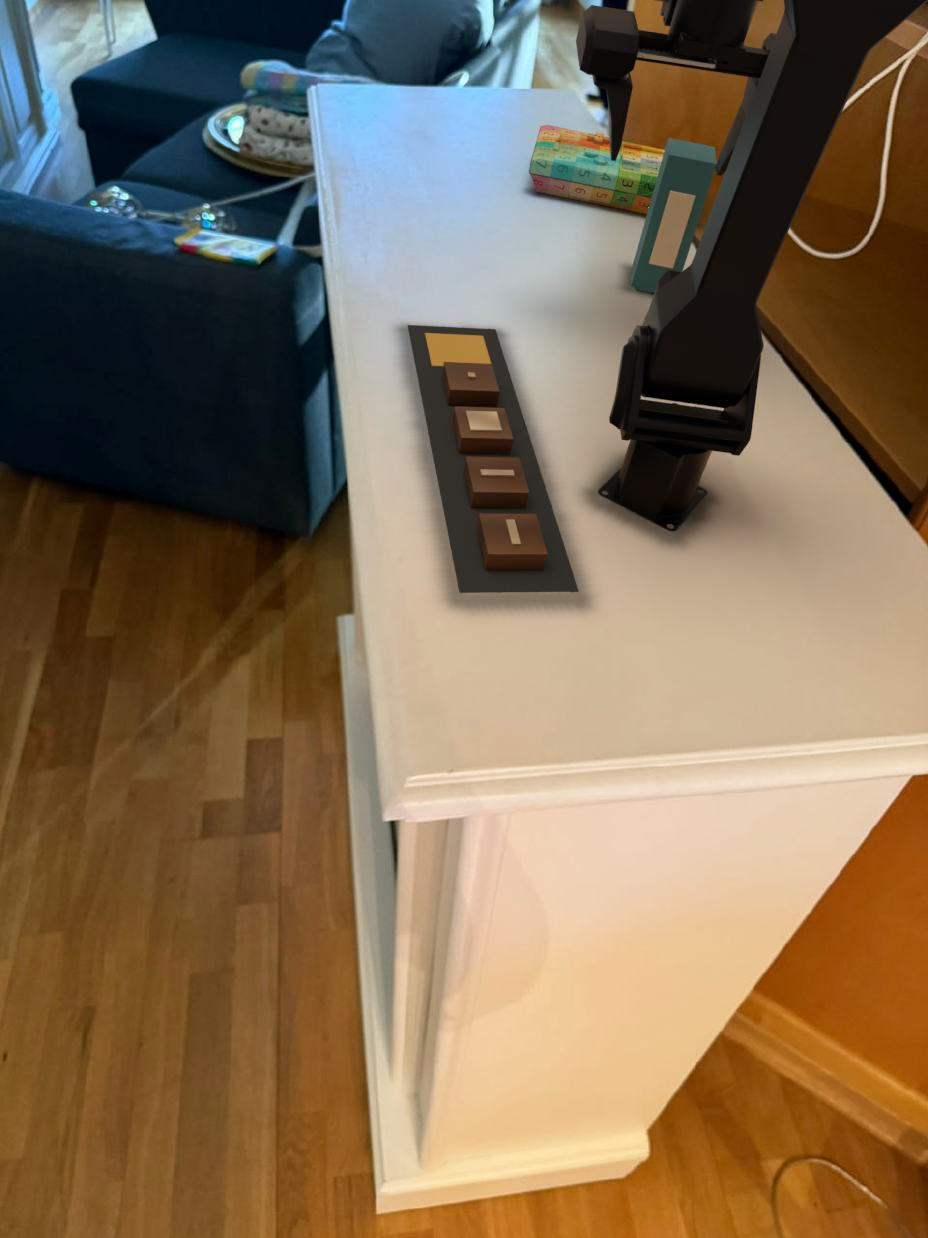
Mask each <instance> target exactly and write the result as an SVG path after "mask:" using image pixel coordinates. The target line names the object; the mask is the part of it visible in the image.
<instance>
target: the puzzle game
mask: <svg viewBox="0 0 928 1238" xmlns="http://www.w3.org/2000/svg"><path fill="white" fill-rule="evenodd" d="M664 151H665V149H662V148H658V147H652V146H649V145H644V144H639V143H634V142H630V141H626V140H625V141H624V140H622V144H621V148H620V151H619V153H618V156H617V159H616V161H612V160H611V156H610V136H605V135H604V133H603V132H598V131H597V132H595V133H594V134H593V133H589V132H583V131H580V130H575V129H569V128H564V127H560V126H557V125H551V124H550V125H549V124H545V125H541V126H539V130H538V133H537V138H536V141H535V145H534V148H533V151H532V155H531V159H530V163H529V169H528V173H529V176H530V177H531V179H532V181H533V185H534V188H535V192H536V193H539V194H546V195H551V196H556V197H561V198H566V199H571V200H575V201H579V202H585V203H591V204H595V205H600V206H605V207H610V208H615V209H621V210H626V211H628V212H629V211H630V212H636V213H640V214H645V215H647V212H648V209H649V208H648V207H649V205H650V201H651V198H652V194H653V191H654V187H655V184H656V180H657V176H658V173H659V169H660V166H661V162H662V159H663V155H664Z"/></svg>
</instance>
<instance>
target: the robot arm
mask: <svg viewBox="0 0 928 1238" xmlns="http://www.w3.org/2000/svg"><path fill="white" fill-rule="evenodd" d="M655 1H657V2H662V4H661V9H660V13H659V15H660V17H662V23H663V25H664V27H668V28H669V29H668V32H667V33H661V32H657V31H656V32H655V31H649V30H643V29H639V26H638V23H637V17H636V15H635V11H632V10H626V9H621V8H614V7H607V6H602V5H601V6H600V5H594V4H591V5H590V6H589V7H588V8H586V9H585V10H584V11H583V12H582V14H581V16H580V20H579V23H578V29H577V34H576V39H575V44H576V52H577V59H578V67H579V70H580V71H581V72H583V73H584V74H586V75H590V76H592V82H593V85H594V86H595V87H597V88H600V89H605V91H606V96H607V97H606V98H607V106H608V107H607V108H608V110H607V111H608V132H609V133H608V137H609V138H610V156H611V160H612V161H616V159H617V156H618V153H619V151H620V148H621V144H622V141H623V139H624V138H623V137H624V133H625V129H626V123H627V119H628V113H629V109H630V103H631V98H632V93H633V88H634V85H633V80H632V75H631V72H633V71H634V70H635V66H636V61H638V62H639V61H640V62H646V63H647V62H648V63H653V64H660V65H667V66H673V67H679V68H685V69H694V70H700V71H706V72H713V73H721V74H727V75H734V76H739V77H740V76H741V77H747V80H746V84H745V87H744V93H743V97H742V101H741V102H740V106H739V108H738V110H737V112H736V115H735V117H734V119H733V122H732V124H731V127H730V129H729V131H728V134H727V136H726V138H725V140H724V142H723V145H722V148H721V149H720V153H719V156H718V159H717V166H716V169H715V173H716V176H720V177H722V176H723V178H722V180H721V183H720V186H719V188H718V192H717V194H716V197H715V199H714V202H713V205H712V208H711V211H710V213H709V216H708V219H707V221H706V224H705V228H704V229H703V232H702V235H701V238H700V240H699V243H698V245H697V249H696V251H695V254H694V256H693V259H692V261H691V263H690V265H689V266H688V267H686V268H684V269H683V271H682V272H679V271H673V270H667V271H666V272H665V273H664V274H663V275H662V277H661V278H660V279H659V280H658V282H657V286H656V289H655V293H653V296H652V300H651V303H650V305H649V308H648V310H647V311H646V314H645V316H644V320H643V322H642V325H641V324H640V325H639V324H638V325H636V326H635V327H634V329H633V331H632V334H631V335H630V337H629V338H628V340H627V343H625V344H624V345H623V346H622V350H621V354H620V355H621V356H620V362H619V367H618V368H619V369H618V376H617V382H616V388H615V394H614V399H613V402H612V407H611V410H610V413H609V416H608V421H609V424H610V425H612V426H613V427H615V428H616V429H617V430H619V431H620V438H621V440H622V441H627V442H629V443H628V446H627V449H626V452H625V455H624V458H623V461H622V464H621V467H620V468H619V469H618V470H617V471H616V472H615V473H614V474H613V475H612V476H611V477H610V478H608V480H607V481H606V482H605V483H604V484H603V485H601V487H600V488H599V489H598V490H597V493H598V495H599V496H601V497H603V498H604V499H606V500H609V501H610V502H612V503H614V504H616V505H618V506H619V507H621V508H623V509H626V510H628V511H629V512H632V513H633V514H634V515H635V514H636V515H637V516H639V517H641V518H643V519H645V520H647V521H649V522H650V523H653V524H655V525H656V526H659V527H660V528H663V529H664V530H666V531H668V532H676V531H678V529H679V528H680V527H681V526H682V524H683V523H684V522H685V521H686V520H687V519H688V517H689V516H690V515H691V514H692V512H694V511H695V509H696V508H697V507H698V506H699V504H700V503H702V501H703V500H704V499H705V497H706V496H707V495H708V490H707V489H706V488H704V487H702V486H701V485H699V483H700V482H701V479H702V476H703V474H704V471H705V469H706V467H707V464H708V462H709V459H710V457H711V454H712V452H717V453H724V454H730V455H731V456H738V457H740V456H741V455H742V453H743V452H744V450H745V449H746V447H747V446H748V444H749V443H750V441H751V438H752V431H753V425H754V417H755V416H754V415H755V408H756V400H757V392H758V385H759V376H760V369H761V360H762V359H761V358H762V353H763V350H764V340H763V334H762V329H761V323H760V319H759V314H758V312H759V311H758V307H757V304H758V300H759V298H760V295H761V293H762V291H763V289H764V287H765V284H766V283H767V279H768V277H769V275H770V273H771V271H772V269H773V266H774V264H775V262H776V260H777V258H778V255H779V253H780V251H781V248H782V246H783V244H784V242H785V239H786V237H787V235H788V233H789V231H790V229H791V226H792V224H793V222H794V221H795V217H796V215H797V213H798V211H799V208H800V207H801V204H802V201H803V200H804V198H805V195H806V193H807V190H808V189H809V187H810V184H811V182H812V180H813V177H814V175H815V173H816V171H817V168H818V167H819V165H820V162H821V160H822V157H823V156H824V153H825V151H826V149H827V146H828V144H829V142H830V139H831V138H832V136H833V133H834V131H835V128H836V127H837V124H838V121H839V119H840V118H841V115H842V113H843V111H844V108H845V106H846V104H847V102H848V100H849V98H850V95H851V93H852V91H853V88H854V86H855V84H856V83H857V79H858V77H859V75H860V73H861V71H862V69H863V67H864V64H865V62H866V60H867V58H868V57H869V54H870V52H871V51H872V50H873V49H874V48H875V47H876V46H877V45H878V44H879V43H880V42H882V41H883V40H884V39H885V38H886V37H888V36H889V35H890V34H891V33H892V32H894V30H896V29H897V28H898V27H899V26H901V24H903V23H904V22H905V21H906V20H907V19H909V18H910V17H911V16H912V15H913V14H914V13H916V12H917V11H918V10H920V8H922V7H923V6H924V5H926V3H928V0H783V5H784V11H783V14H782V16H781V21H780V23H779V26H778V29H777V31H776V33H774V32H770V33H769V34H768V35H767V36H766V37H765V39H764V40H763V42H762V45H761V47H760V48H759V47H754V46H746V45H745V41H746V38H747V35H748V32H749V29H750V26H751V23H752V21H753V18H754V14H755V12H756V10H757V7H758V4H759V2H764V0H655ZM643 398H648V399H643ZM650 399H656V400H650ZM657 400H663V401H657ZM665 401H670V402H665ZM679 403H683V404H679ZM687 404H690V405H687ZM692 405H699V406H692ZM700 406H705V407H706V408H705V407H700ZM707 407H712V408H707ZM713 408H719V409H713ZM721 409H723V410H721ZM700 490H701V491H703V492H700ZM603 492H606V494H605V493H603ZM668 525H670V526H673V528H671V527H669V526H668Z"/></svg>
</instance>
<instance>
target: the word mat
mask: <svg viewBox="0 0 928 1238" xmlns="http://www.w3.org/2000/svg"><path fill="white" fill-rule="evenodd" d="M407 331H408V335H409V340H410V341H409V342H410V345H411V350H412V355H413V361H414V367H415V371H416V376H417V377H416V378H417V382H418V386H419V392H420V397H421V403H422V406H423V407H422V408H423V412H424V413H423V414H424V417H425V423H426V428H427V432H428V437H429V444H430V448H431V453H432V454H431V455H432V459H433V464H434V468H435V473H436V479H437V485H438V489H439V494H440V499H441V505H442V511H443V515H444V520H445V521H444V522H445V525H446V531H447V536H448V540H449V545H450V550H451V556H452V561H453V566H454V571H455V577H456V581H457V586H458V592H459V593H460V594H472V593H473V594H476V593H478V594H479V593H480V594H481V593H485V594H487V593H490V594H491V593H578V592H579V588H578V585H577V581H576V579H575V575H574V572H573V569H572V565H571V562H570V560H569V557H568V553H567V550H566V546H565V543H564V541H563V537H562V535H561V531H560V528H559V525H558V522H557V519H556V515H555V512H554V509H553V506H552V503H551V499H550V496H549V493H548V490H547V488H546V487H547V486H546V485H545V484H546V483H545V481H544V478H543V475H542V472H541V468H540V465H539V462H538V458H537V455H536V453H535V450H534V447H533V443H532V440H531V436H530V434H529V430H528V428H527V424H526V421H525V418H524V415H523V412H522V409H521V405H520V402H519V399H518V396H517V392H516V390H515V387H514V383H513V380H512V377H511V374H510V371H509V367H508V364H507V362H506V359H505V355H504V352H503V348H502V346H501V342H500V339H499V336H498V333H497V329H495V328H477V327H474V328H473V327H458V326H457V327H456V326H437V325H436V326H435V325H419V324H418V325H416V324H407ZM444 362H460V363H484V364H492V367H493V371H494V374H495V377H496V381H497V384H498V387H499V391H500V392H499V398H498V403H497V407H487V408H504V409H505V412H506V415H507V419H508V422H509V425H510V429H511V432H512V435H513V444H512V448H511V453H510V454H469V453H459V451H458V447H457V442H456V438H455V433H454V429H453V425H452V418H453V411H454V407H455V406H453V405H448V403H447V398H446V394H445V390H444V385H443V381H442V372H443V364H444ZM456 407H484V406H456ZM466 457H509V458H519V459H520V463H521V466H522V469H523V473H524V476H525V480H526V483H527V486H528V490H529V496H528V500H527V504H526V508H472V507H471V504H470V500H469V496H468V491H467V487H466V482H465V478H464V474H463V471H464V465H465V459H466ZM480 513H486V514H536V516H537V519H538V523H539V526H540V529H541V533H542V536H543V540H544V543H545V546H546V550H547V553H548V555H547V558H546V562H545V565H544V569H543V570H485V567H484V562H483V558H482V554H481V549H480V545H479V540H478V536H477V531H476V527H477V522H478V517H479V514H480Z"/></svg>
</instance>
